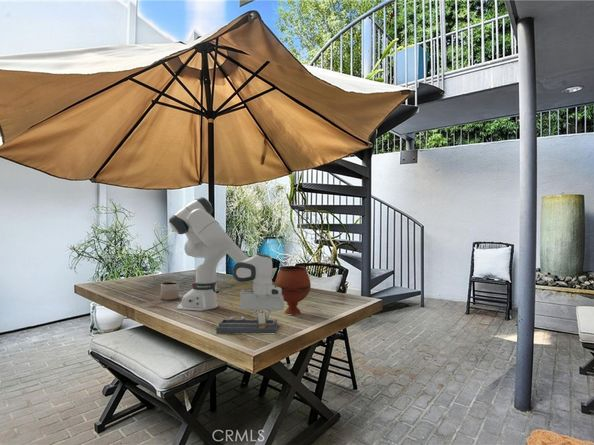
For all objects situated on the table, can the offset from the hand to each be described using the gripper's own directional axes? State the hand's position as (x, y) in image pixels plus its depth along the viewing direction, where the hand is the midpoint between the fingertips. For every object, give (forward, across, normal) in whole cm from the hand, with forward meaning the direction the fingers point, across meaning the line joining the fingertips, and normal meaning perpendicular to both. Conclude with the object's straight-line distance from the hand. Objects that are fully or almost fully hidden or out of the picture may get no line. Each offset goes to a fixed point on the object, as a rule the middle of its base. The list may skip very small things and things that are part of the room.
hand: (262, 319), depth 154 cm
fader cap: (+2, 0, 0) cm, 2 cm away
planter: (+5, -65, +59) cm, 88 cm away
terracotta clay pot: (+4, +13, +27) cm, 31 cm away
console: (+4, -6, 0) cm, 8 cm away
